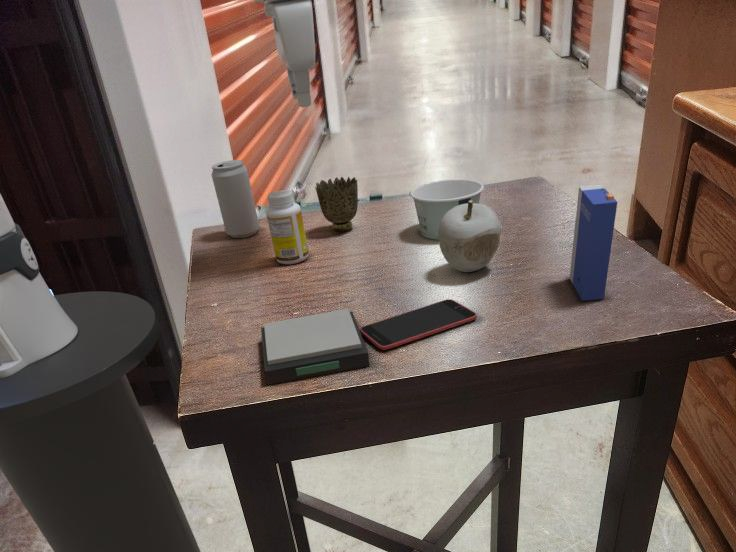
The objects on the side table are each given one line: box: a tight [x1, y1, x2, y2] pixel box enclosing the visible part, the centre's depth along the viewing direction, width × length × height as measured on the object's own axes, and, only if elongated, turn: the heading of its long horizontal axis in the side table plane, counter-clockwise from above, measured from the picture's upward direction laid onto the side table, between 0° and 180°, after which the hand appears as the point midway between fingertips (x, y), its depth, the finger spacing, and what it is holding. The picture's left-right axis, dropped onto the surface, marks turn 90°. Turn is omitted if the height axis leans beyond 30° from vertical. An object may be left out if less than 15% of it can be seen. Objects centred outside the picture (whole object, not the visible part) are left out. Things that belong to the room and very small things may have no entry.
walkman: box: [569, 184, 618, 302], centre depth 77 cm, size 8×3×12 cm, turn 178°
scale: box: [260, 308, 371, 386], centre depth 75 cm, size 12×12×2 cm
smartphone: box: [359, 298, 478, 351], centre depth 77 cm, size 7×1×14 cm
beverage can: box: [211, 159, 260, 239], centre depth 112 cm, size 6×6×12 cm
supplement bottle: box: [265, 189, 310, 265], centre depth 99 cm, size 6×6×10 cm
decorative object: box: [438, 200, 502, 273], centre depth 87 cm, size 9×9×10 cm
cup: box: [314, 176, 359, 233], centre depth 108 cm, size 8×7×8 cm
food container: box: [410, 178, 485, 241], centre depth 102 cm, size 12×12×6 cm
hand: (301, 102), depth 92 cm, fingers open, 8 cm apart
